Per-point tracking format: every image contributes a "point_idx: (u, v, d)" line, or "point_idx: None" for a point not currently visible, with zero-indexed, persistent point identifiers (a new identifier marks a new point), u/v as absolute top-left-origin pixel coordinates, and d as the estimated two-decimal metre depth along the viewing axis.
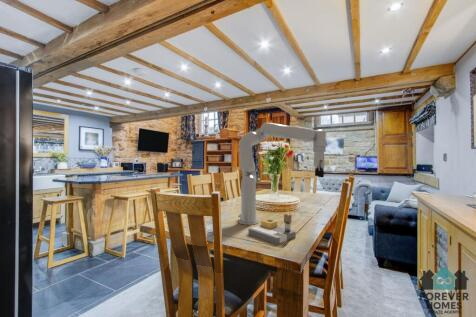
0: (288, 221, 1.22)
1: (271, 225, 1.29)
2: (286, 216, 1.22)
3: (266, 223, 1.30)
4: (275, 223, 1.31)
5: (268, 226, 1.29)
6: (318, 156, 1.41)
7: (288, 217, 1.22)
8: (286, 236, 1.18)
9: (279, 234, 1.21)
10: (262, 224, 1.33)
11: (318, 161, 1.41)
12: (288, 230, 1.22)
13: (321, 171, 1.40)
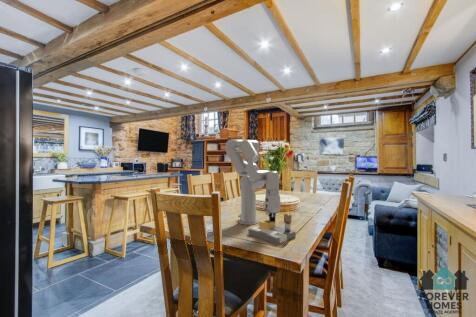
0: (288, 221, 1.22)
1: (269, 226, 1.27)
2: (286, 216, 1.22)
3: (264, 224, 1.29)
4: (273, 224, 1.29)
5: (266, 227, 1.28)
6: None
7: (288, 217, 1.22)
8: (286, 236, 1.18)
9: (279, 234, 1.21)
10: (260, 225, 1.31)
11: None
12: (288, 230, 1.22)
13: None
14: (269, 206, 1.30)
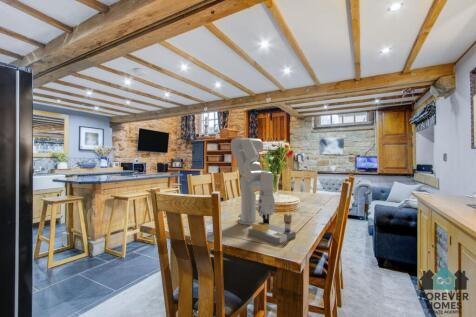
0: (288, 221, 1.22)
1: (262, 228, 1.23)
2: (286, 216, 1.22)
3: (257, 226, 1.25)
4: (266, 226, 1.25)
5: (259, 229, 1.24)
6: None
7: (288, 217, 1.22)
8: (286, 236, 1.18)
9: (279, 234, 1.21)
10: (253, 227, 1.27)
11: None
12: (288, 230, 1.22)
13: None
14: (262, 207, 1.26)
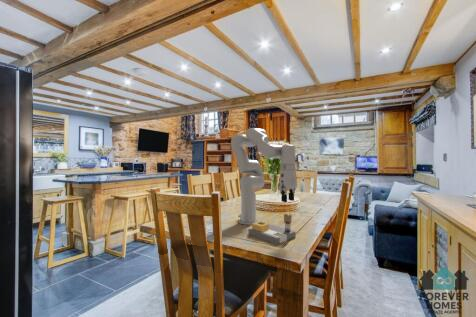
0: (288, 221, 1.22)
1: (262, 228, 1.23)
2: (286, 216, 1.22)
3: (257, 226, 1.25)
4: (266, 226, 1.25)
5: (259, 229, 1.24)
6: None
7: (288, 217, 1.22)
8: (286, 236, 1.18)
9: (279, 234, 1.21)
10: (253, 227, 1.27)
11: None
12: (288, 230, 1.22)
13: None
14: (285, 182, 1.19)
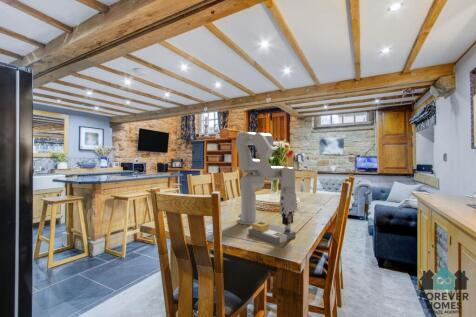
0: (288, 221, 1.22)
1: (262, 228, 1.23)
2: None
3: (257, 226, 1.25)
4: (266, 226, 1.25)
5: (259, 229, 1.24)
6: None
7: (288, 217, 1.22)
8: (286, 236, 1.18)
9: (279, 234, 1.21)
10: (253, 227, 1.27)
11: None
12: (288, 230, 1.22)
13: None
14: (285, 205, 1.19)
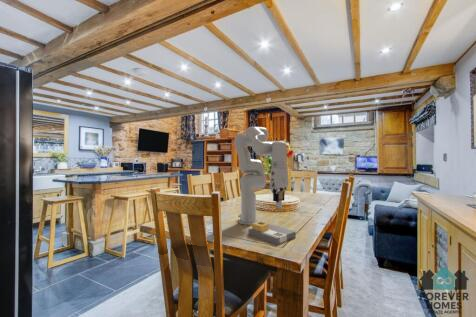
0: (279, 198, 1.16)
1: (262, 228, 1.23)
2: None
3: (257, 226, 1.25)
4: (266, 226, 1.25)
5: (259, 229, 1.24)
6: None
7: (279, 193, 1.16)
8: (286, 236, 1.18)
9: (279, 234, 1.21)
10: (253, 227, 1.27)
11: None
12: (279, 207, 1.17)
13: None
14: (275, 180, 1.14)
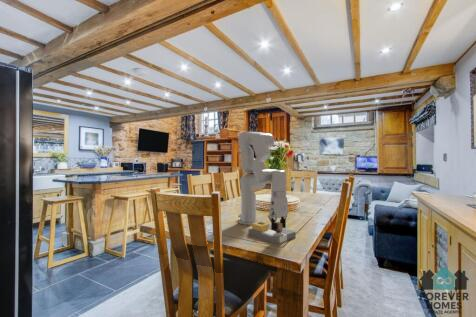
0: (279, 230, 1.16)
1: (262, 228, 1.23)
2: (277, 225, 1.17)
3: (257, 226, 1.25)
4: (266, 226, 1.25)
5: (259, 229, 1.24)
6: None
7: (279, 226, 1.16)
8: (286, 236, 1.18)
9: None
10: (253, 227, 1.27)
11: None
12: None
13: None
14: (275, 210, 1.14)
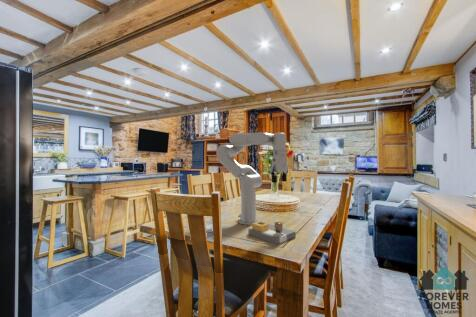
0: (279, 230, 1.16)
1: (262, 228, 1.23)
2: (277, 225, 1.17)
3: (257, 226, 1.25)
4: (266, 226, 1.25)
5: (259, 229, 1.24)
6: None
7: (279, 226, 1.16)
8: (286, 236, 1.18)
9: None
10: (253, 227, 1.27)
11: None
12: None
13: None
14: (276, 165, 1.33)
